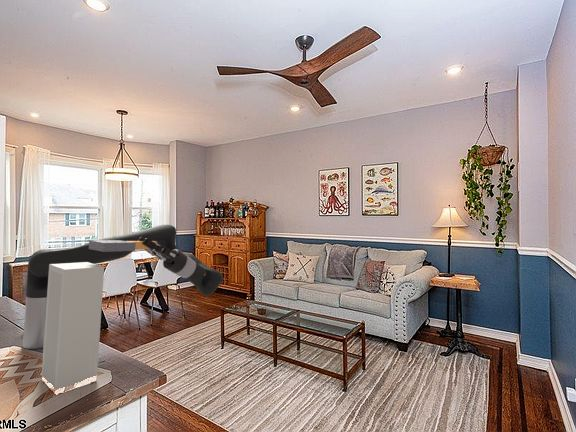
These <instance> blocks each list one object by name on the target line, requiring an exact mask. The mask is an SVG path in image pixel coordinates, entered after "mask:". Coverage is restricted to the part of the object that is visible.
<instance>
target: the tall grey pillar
mask: <svg viewBox="0 0 576 432" xmlns="http://www.w3.org/2000/svg"><path fill="white" fill-rule="evenodd" d="M104 274H105V266H103V265H99V264H92V263H89V262H80V263H63V264H49V276H48V290H47V304H46V318H45V333H44V347H42V349H43V350H42V363H41V364H42V365H41V375H42V376H43V377H44V378H45V379H46V380H47V381H48V382H49V383H51V384H52V385H53V387H54V388H55V389H56V390H57V389H59V388H63V387H67V386H70V385H73V384H75V383H78V382H81V381H83V380H85V379H87V378H90V377H93V376H96V375H97V376H98V371H99V370H98V367H99V366H98V365H99V354H100V353H99V351H100V337H101V323H102V320H101V319H102V309H103V308H102V305H103V291H104V277H105V276H104Z"/></svg>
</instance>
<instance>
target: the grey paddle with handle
mask: <svg viewBox="0 0 576 432" xmlns="http://www.w3.org/2000/svg"><path fill="white" fill-rule="evenodd" d="M153 242H154V243H157V242H156V241H153ZM88 243H89V249H92V250H97V251H102V252H113V251H133V252H135V251H136V250H144V249H150V248H149V247H147V246H145V245H144V244H143V241H121V240H99V239H97V240H94V239H93V240H89V241H88Z"/></svg>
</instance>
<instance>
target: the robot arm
mask: <svg viewBox="0 0 576 432" xmlns="http://www.w3.org/2000/svg"><path fill="white" fill-rule="evenodd" d="M98 240H121V241H143V244H144V245H145V246H147V247H149V248H150V249H143V250H144V251H145V252H147V253H148V254H150V255H151V256H153V257H156V259H158V260H160V261H162V260H163V262H162V265H163V268H164V269H167V270H168V271H169V272H171V273H173V274H175V275H176V276H178V277H181V278H183V279H184V280H187V281H189V282H190V283H191V284H193V285H194V287H195V288H196V289H197V290H198V291H199V293H200V294H201V295H203V296H204V297H208V296H211V295H213V294H214V293H215V291H216V290H217V289H218V288H219V286H220V285H221V284H222V283H223V281H224V275H223V274H222V273H221V272H219V271H218V270H216V269H214V268H212V267H210V266H208V265H206V264H205V263H203V261H201V260H200V259H199V258H198V257H197V256H196V255H194V254H192V253H190V252H184V251H181V250H180V248H179V247H178V246H177V245H176V242H177V241H176V240H177V229H176V226H174V225H171V224H161V225H156V226H153V227H149V228H145V229H143V230H138V231H135V232H129V233H124V234H121V235H114V236H109V237H103V238H100V239H98ZM153 241H156V242H157V243H154V242H153ZM133 252H134V251H113V252H102V251H97V250H92V249H89V242H88V243H85V244H82V245H79V246H74V247H70V248H65V249H56V250H53V249H47V248H44V249H40V250H36V251H35V252H33V253H32V254H31V255H30V256H29V259H28V261H27V262H28V264H27V277H26V289H25V290H26V291H25V293H26V294H25V308H24V320H23V334H22V335H23V336H22V348H23V349H28V350H34V349H35V350H36V349H41V348H42V349H43V347H44V333H45V318H46V304H47V290H48V276H49V264H63V263H80V262H89V263H92V264H96V265H99V264H103V263H107V262H112V261H115V260H119V259H123V258H125V257H127V256H129V255H130V254H132V253H133Z"/></svg>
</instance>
